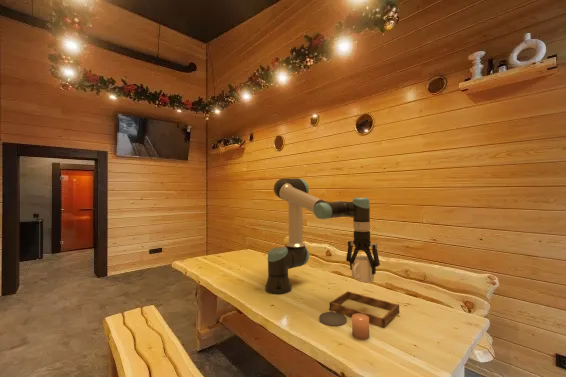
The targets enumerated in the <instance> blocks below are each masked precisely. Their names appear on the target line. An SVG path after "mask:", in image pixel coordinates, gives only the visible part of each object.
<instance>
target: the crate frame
mask: <svg viewBox="0 0 566 377" xmlns="http://www.w3.org/2000/svg"><path fill="white" fill-rule="evenodd" d="M348 300H351V301H354V302H358V303H361V304H363V305H364V304H366V305H368V306H372V307H376V308H379V309H383V310H386V311H388V312H387V313H386V314H385V315H384V316H383V317H382V316H378V315H374V314H371V313H368V312H365V311H362V310H359V309H355V308H353V307H349V306H345V305H343V303H345V302H346V301H348ZM329 311H330V312H337V313H341V314H343V315H344V316H346V317H349V318H352V315H353V314H357V313H360V314H365V315H367V316H368V317H369V324H371V325H374V326H376V327H380V328H384V329H385V328H386V327H387V326H388V325H389V324H390V323H391V322H392V321H393V320H394V319H395V317H396V316H398V315H399V313H400V304H397V303H394V302H390V301H386V300H382V299H379V298H374V297H370V296H367V295H364V294H359V293H355V292H352V291H346V292H344V293H343V294H341V295H340V296H338V297H336V298H334V299H333V300H331V301H329Z"/></svg>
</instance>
